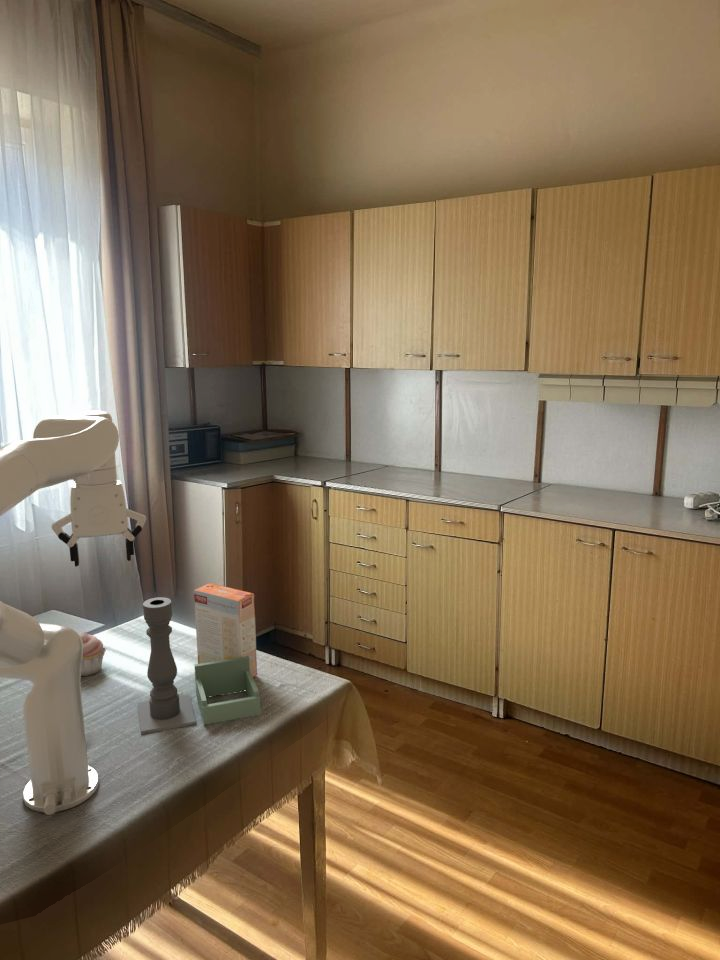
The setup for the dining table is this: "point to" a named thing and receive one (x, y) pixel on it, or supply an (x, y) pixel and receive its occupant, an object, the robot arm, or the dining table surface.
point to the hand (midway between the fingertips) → (103, 561)
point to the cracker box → (225, 624)
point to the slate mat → (154, 725)
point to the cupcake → (91, 654)
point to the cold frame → (226, 689)
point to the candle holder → (161, 659)
